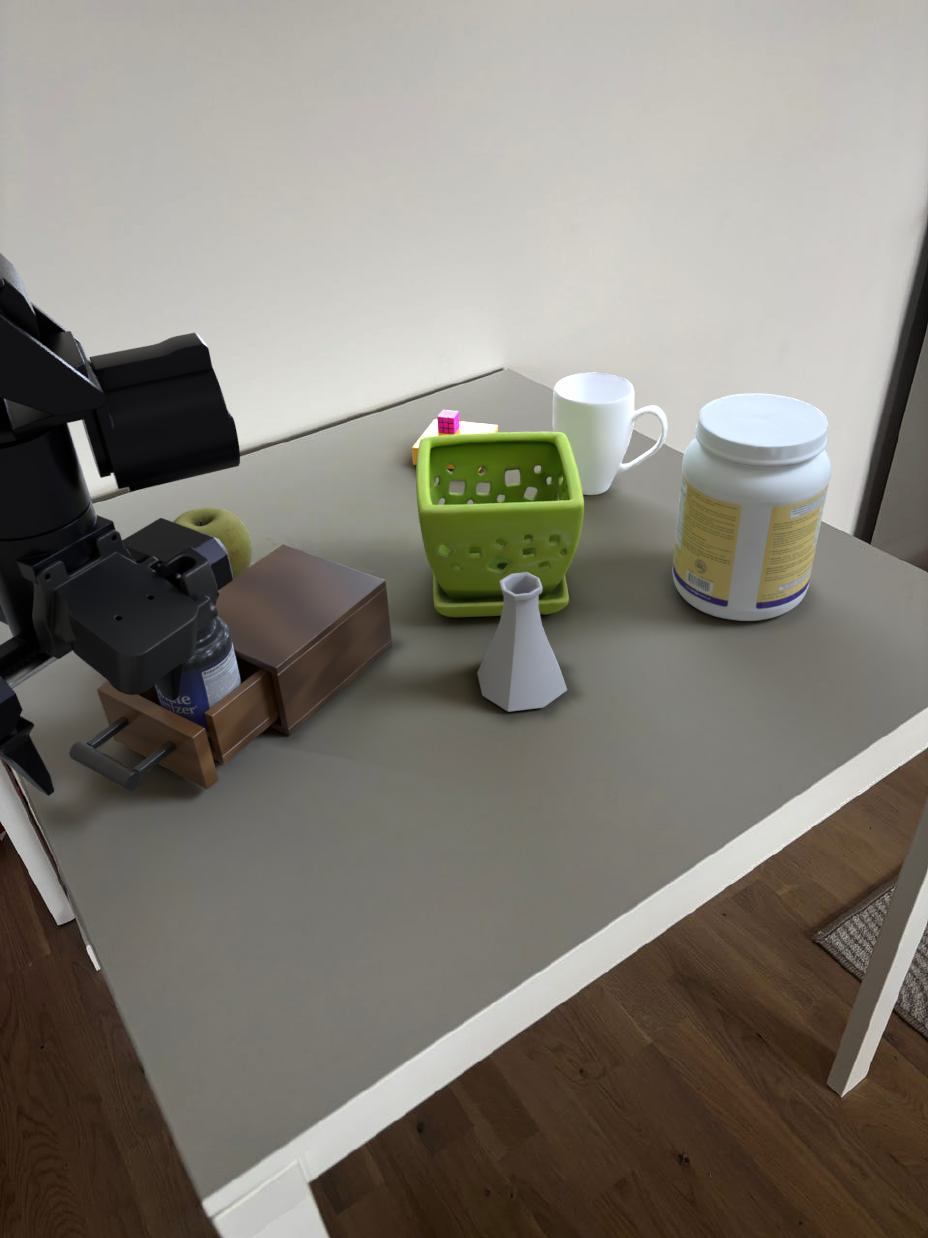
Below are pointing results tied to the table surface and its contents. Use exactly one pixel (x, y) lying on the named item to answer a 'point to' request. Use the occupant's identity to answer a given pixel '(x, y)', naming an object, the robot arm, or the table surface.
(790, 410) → the supplement tub
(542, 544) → the flower pot
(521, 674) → the flask
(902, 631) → the table surface
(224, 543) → the apple
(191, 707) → the pill bottle
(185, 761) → the drawer
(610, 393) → the mug
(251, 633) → the cabinet
